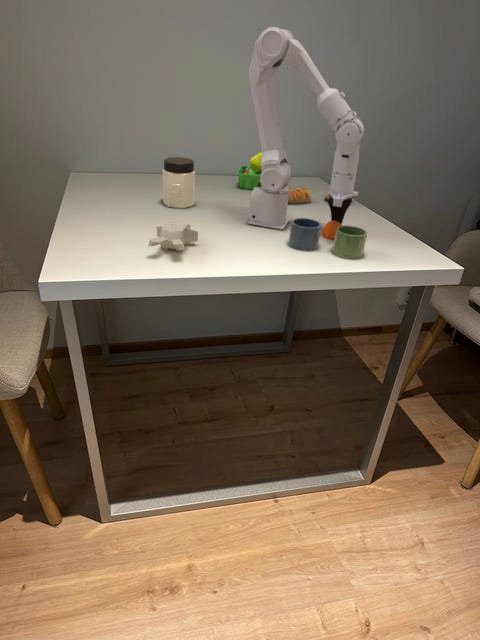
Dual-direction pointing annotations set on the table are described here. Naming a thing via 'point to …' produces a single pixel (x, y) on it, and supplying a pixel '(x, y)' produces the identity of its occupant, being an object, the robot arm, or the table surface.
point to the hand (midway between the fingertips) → (336, 226)
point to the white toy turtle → (174, 236)
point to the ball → (331, 229)
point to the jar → (178, 182)
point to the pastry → (299, 195)
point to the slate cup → (304, 234)
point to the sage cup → (349, 242)
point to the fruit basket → (251, 173)
